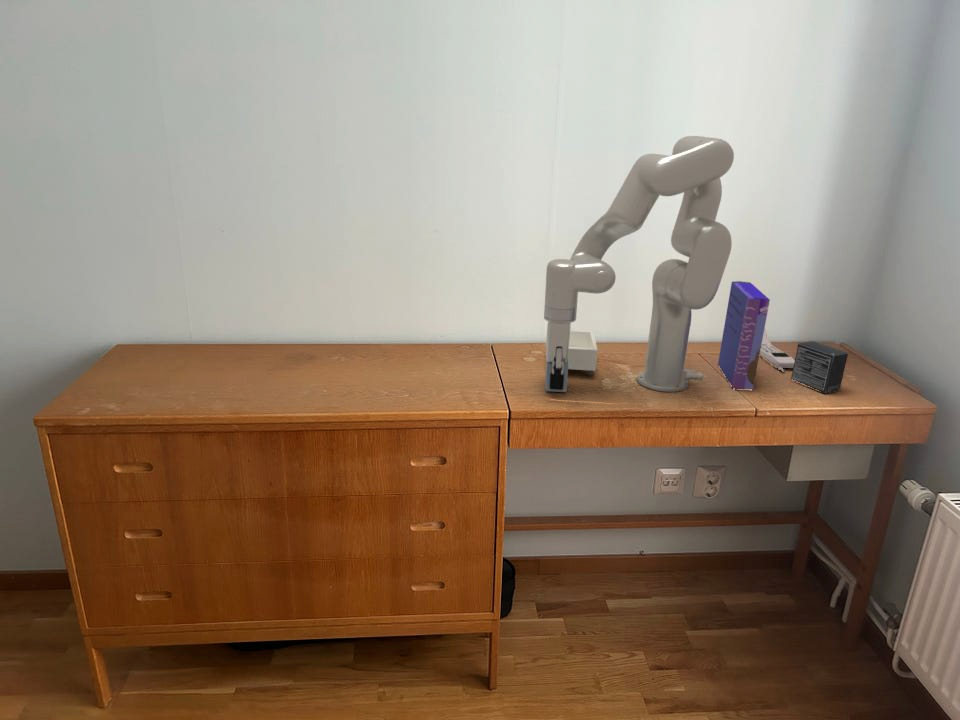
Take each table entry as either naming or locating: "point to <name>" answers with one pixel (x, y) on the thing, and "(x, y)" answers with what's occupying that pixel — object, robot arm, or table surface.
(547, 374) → the block
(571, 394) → the table surface
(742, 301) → the cereal box
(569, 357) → the white storage bin
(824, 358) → the small box
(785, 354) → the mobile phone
